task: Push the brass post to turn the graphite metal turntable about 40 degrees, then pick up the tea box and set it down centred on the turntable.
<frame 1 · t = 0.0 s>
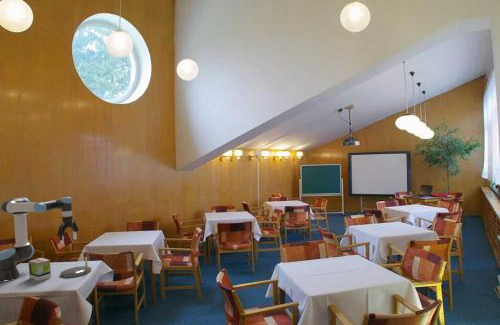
hand: (68, 241, 268), 28 cm above the table, fingers open, 13 cm apart
tea box: (40, 278, 266), on the table
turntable: (75, 264, 274), point 7 cm above the table, hinge at 0.0°
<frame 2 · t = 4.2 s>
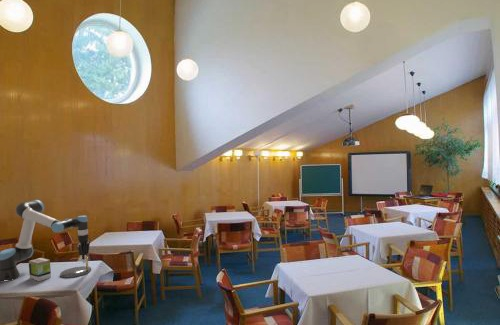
hand: (84, 262, 269), 10 cm above the table, fingers closed
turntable: (75, 264, 274), point 7 cm above the table, hinge at 3.8°, touching gripper
everything else where it was.
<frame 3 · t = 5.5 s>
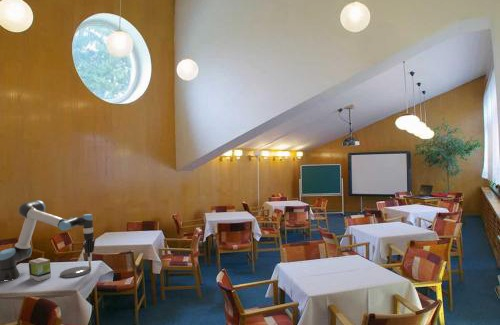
hand: (90, 260, 275), 10 cm above the table, fingers closed
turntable: (75, 264, 274), point 7 cm above the table, hinge at 31.2°, touching gripper
everything else where it was.
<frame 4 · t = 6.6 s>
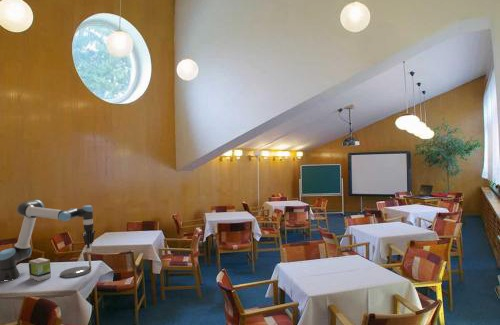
hand: (89, 251, 276), 17 cm above the table, fingers closed
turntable: (75, 264, 274), point 7 cm above the table, hinge at 35.5°
everything else where it was.
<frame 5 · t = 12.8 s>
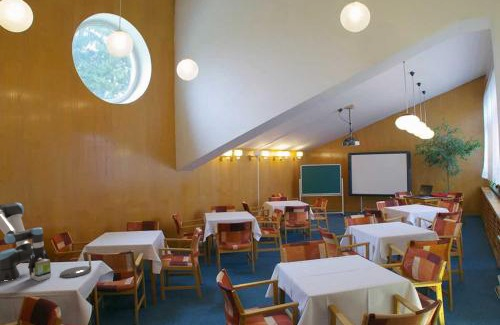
hand: (40, 273, 266), 4 cm above the table, fingers closed on tea box, 11 cm apart
tea box: (40, 278, 266), on the table, touching gripper
everything else where it was.
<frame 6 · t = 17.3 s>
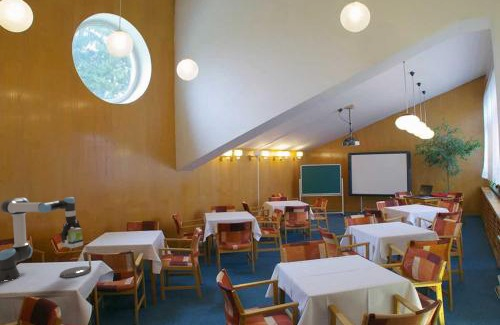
hand: (72, 241, 273), 27 cm above the table, fingers closed on tea box, 11 cm apart
tea box: (72, 246, 273), point 23 cm above the table, touching gripper
everything else where it was.
when the fingers open (7 cm above the table, at t = 21.9 s): tea box drops 1 cm, resting on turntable.
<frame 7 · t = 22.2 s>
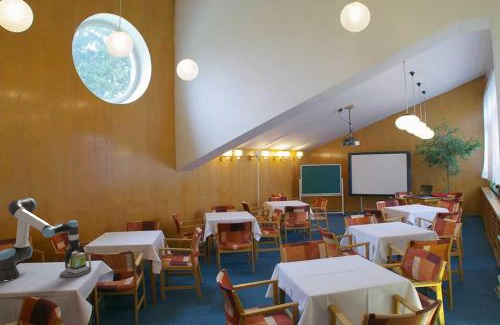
hand: (75, 264, 274), 7 cm above the table, fingers open, 13 cm apart
tea box: (76, 271, 274), point 1 cm above the table, touching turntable
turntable: (75, 264, 274), point 7 cm above the table, hinge at 35.5°, touching tea box
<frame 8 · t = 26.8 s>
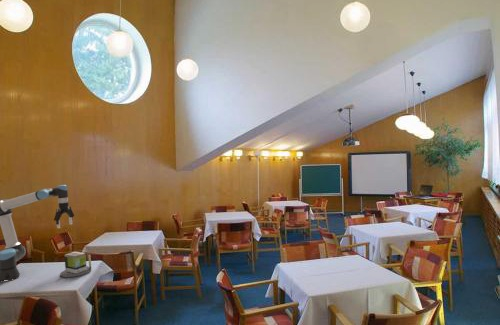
hand: (64, 226, 288), 37 cm above the table, fingers open, 13 cm apart
nothing on the table moved.
at the end: tea box 0.3 cm from the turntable (horizontally); tea box tilted 0°; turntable at +36° (first picture: +0°) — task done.
